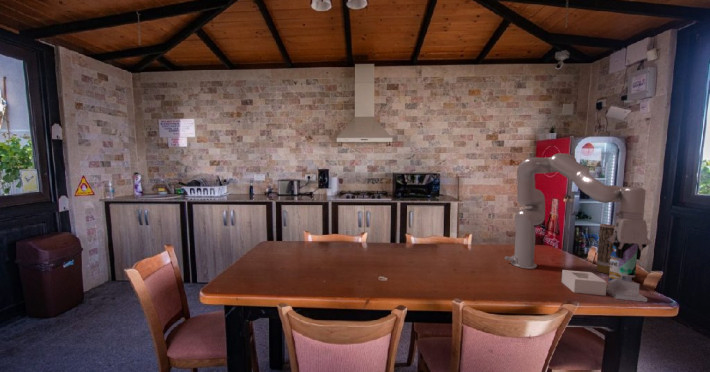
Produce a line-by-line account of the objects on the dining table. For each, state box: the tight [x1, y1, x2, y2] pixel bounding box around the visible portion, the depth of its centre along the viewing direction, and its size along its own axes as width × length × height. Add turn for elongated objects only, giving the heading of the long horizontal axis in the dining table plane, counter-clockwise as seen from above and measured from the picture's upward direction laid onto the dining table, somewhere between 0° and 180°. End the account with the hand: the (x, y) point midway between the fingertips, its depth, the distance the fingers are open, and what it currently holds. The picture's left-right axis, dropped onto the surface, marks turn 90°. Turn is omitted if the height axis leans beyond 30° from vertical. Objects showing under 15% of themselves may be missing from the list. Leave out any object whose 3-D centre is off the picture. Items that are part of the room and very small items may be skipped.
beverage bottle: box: [607, 245, 633, 282], centre depth 140 cm, size 8×8×20 cm
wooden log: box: [595, 223, 617, 275], centre depth 157 cm, size 7×7×25 cm
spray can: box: [618, 238, 638, 278], centre depth 127 cm, size 6×6×20 cm
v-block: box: [606, 278, 648, 303], centre depth 130 cm, size 11×11×6 cm
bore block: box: [561, 269, 608, 296], centre depth 135 cm, size 12×12×6 cm
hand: (627, 257), depth 127 cm, fingers closed on spray can, 5 cm apart
